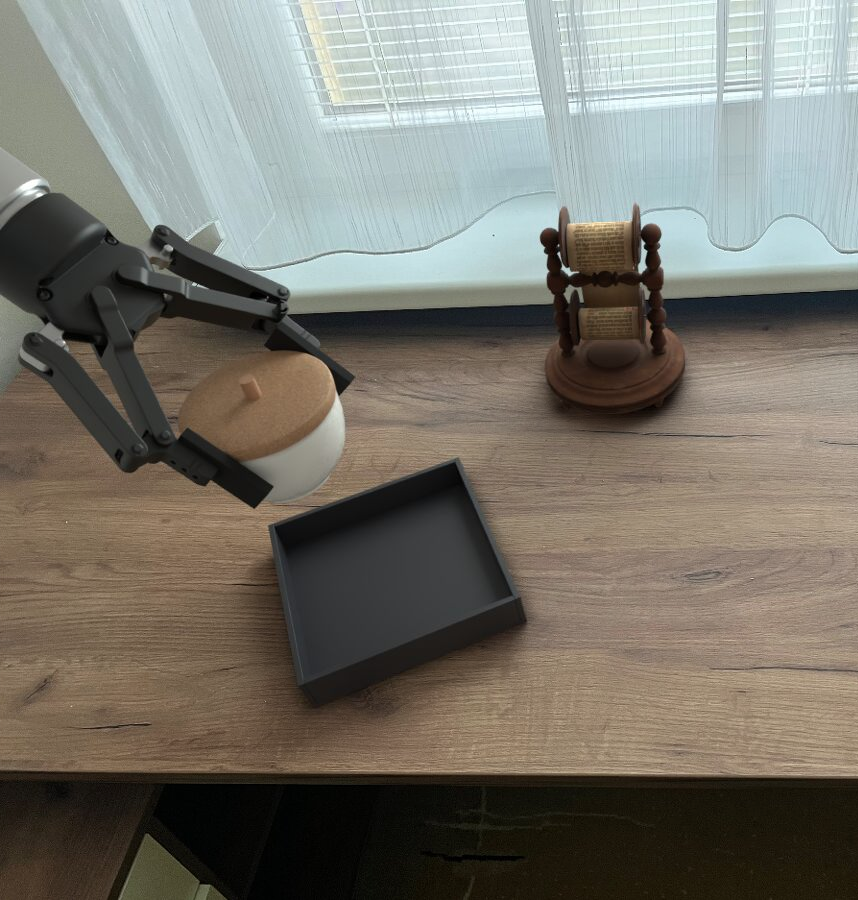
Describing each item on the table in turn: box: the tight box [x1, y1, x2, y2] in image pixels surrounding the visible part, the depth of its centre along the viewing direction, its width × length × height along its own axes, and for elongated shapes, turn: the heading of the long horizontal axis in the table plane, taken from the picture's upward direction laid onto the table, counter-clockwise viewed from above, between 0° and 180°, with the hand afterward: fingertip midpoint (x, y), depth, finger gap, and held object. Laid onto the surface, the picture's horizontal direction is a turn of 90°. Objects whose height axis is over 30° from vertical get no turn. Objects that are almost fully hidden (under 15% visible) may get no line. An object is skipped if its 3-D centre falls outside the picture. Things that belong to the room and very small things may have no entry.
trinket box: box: [177, 350, 347, 505], centre depth 63 cm, size 11×11×9 cm
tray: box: [267, 456, 528, 709], centre depth 75 cm, size 18×18×3 cm
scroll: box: [539, 202, 686, 415], centre depth 86 cm, size 15×15×20 cm
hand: (307, 439), depth 62 cm, fingers closed on trinket box, 11 cm apart
